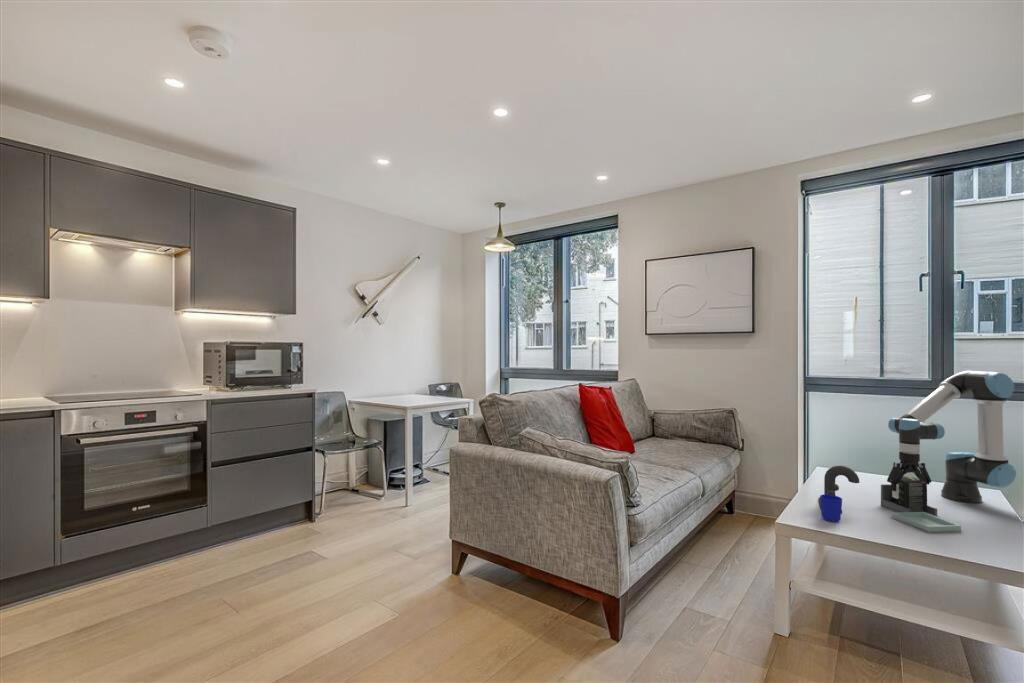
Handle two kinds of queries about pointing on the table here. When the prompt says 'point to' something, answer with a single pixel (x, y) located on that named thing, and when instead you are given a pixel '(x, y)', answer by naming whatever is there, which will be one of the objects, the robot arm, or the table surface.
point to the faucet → (832, 474)
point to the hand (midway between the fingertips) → (909, 497)
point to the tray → (926, 522)
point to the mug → (831, 507)
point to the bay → (887, 502)
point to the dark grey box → (912, 494)
